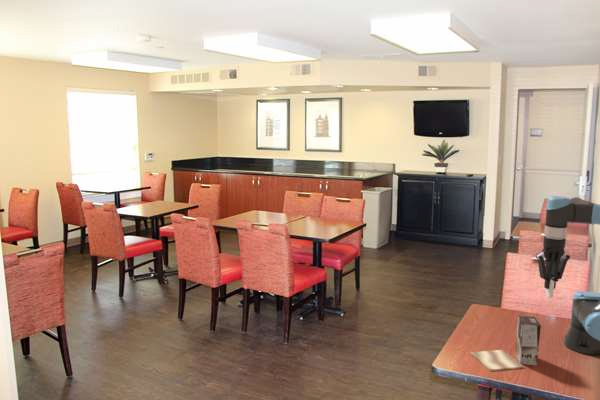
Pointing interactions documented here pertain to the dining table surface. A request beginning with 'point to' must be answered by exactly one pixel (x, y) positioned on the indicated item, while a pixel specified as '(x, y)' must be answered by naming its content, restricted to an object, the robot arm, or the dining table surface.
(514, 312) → the dining table surface
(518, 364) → the beige board
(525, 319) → the coffee box
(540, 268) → the robot arm
